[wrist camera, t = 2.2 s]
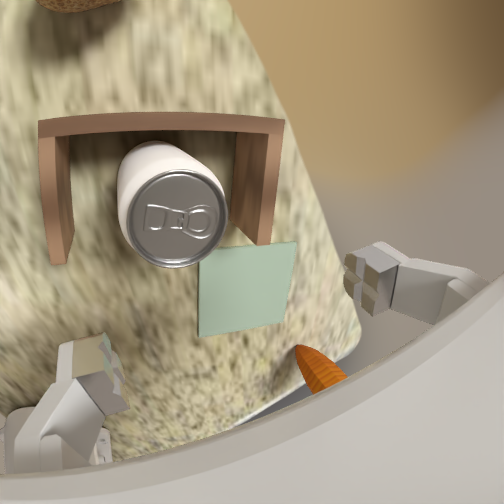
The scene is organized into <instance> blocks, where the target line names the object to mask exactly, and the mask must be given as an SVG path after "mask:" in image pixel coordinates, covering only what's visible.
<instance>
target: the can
mask: <svg viewBox="0 0 504 504" xmlns="http://www.w3.org/2000/svg"><path fill="white" fill-rule="evenodd" d="M117 202H118V217H119V223H120V227H121V230H122V233H123V235H124V237H125V239H126V240H127V242H128V243H129V245H130V246H131V247H132V248H133V249H134V250H135V251H136V252H137V253H138V254H139V255H140V256H141V257H142V258H144V259H145V260H146V261H148V262H150V263H151V264H154V265H156V266H159V267H163V268H183V267H187V266H191V265H193V264H196V263H198V262H200V261H201V260H203V259H204V258H206V257H207V256H208V255H209V254H211V253H212V252H213V251H214V250H215V248H216V247H217V246H218V244H219V243H220V241H221V240H222V238H223V236H224V233H225V230H226V227H227V222H228V208H227V203H226V200H225V195H224V192H223V189H222V186H221V184H220V182H219V181H218V179H217V178H216V176H215V175H214V174H213V173H212V172H211V171H210V170H209V169H208V168H207V167H206V166H204V165H203V164H202V163H200V162H199V161H197V160H196V159H194V158H193V157H191V156H190V155H188V154H187V153H185V152H183V151H182V150H180V149H179V148H177V147H175V146H174V145H172V144H169V143H167V142H163V141H149V142H145V143H142V144H140V145H138V146H136V147H134V148H133V149H132V150H131V151H129V152H128V154H127V155H126V156H125V157H124V159H123V161H122V162H121V165H120V167H119V171H118V177H117Z"/></svg>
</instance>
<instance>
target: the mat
mask: <svg viewBox="0 0 504 504" xmlns="http://www.w3.org/2000/svg"><path fill="white" fill-rule="evenodd" d="M296 246H297V242H295V241H293V242H281V243H270V245H263V246H256V245H247V246H235V247H224V248H215V250H214V251H213V252H212V253H211V254H209V255H208V256H207V257H206V258H204V259H203V260H201V261H200V262H199V285H198V336H199V338H200V337H206V336H212V335H218V334H224V333H229V332H235V331H240V330H246V329H251V328H256V327H261V326H266V325H271V324H276V323H280V322H283V320H284V315H285V309H286V304H287V298H288V293H289V287H290V281H291V276H292V270H293V264H294V258H295V252H296Z"/></svg>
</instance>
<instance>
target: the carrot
mask: <svg viewBox="0 0 504 504" xmlns="http://www.w3.org/2000/svg"><path fill="white" fill-rule="evenodd" d="M295 352H296V359H297V364H298V366H299V368H300V371H301V373H302V375H303V377H304V379H305V382H306V384H307V386H308V387H309V388H310V390H311V392H312V393H313V395H314V394H316V393H318V392H320V391H322V390H324V389H326V388H328V387H330V386H332V385H334V384H336V383H338V382H340V381H342V380H344V379H346V378H348V377H347V376H346V375H345V374H344V373H343V372H342V370H341V369H340V368H338V366H337V365H335V363H334V362H333V361H331V360H330V359H329V358H327V357H326V356H325V355H323V354H322V353H320V352H319V351H317V350H315V349H313V348H311V347H308V346H304V345H297V346H296V348H295Z"/></svg>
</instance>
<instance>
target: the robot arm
mask: <svg viewBox="0 0 504 504" xmlns="http://www.w3.org/2000/svg"><path fill="white" fill-rule="evenodd" d="M344 265H345V266H346V268H347V270H346V272H345V274H344V279H343V284H344V287H345V290H346V292H347V293H348V295H349V296H350V297H351V298H352V299H353V300H357V301H360V302H361V307H362V308H364V309H365V310H366V311H367V312H368V313H369V314H370V315H371V316H372V317H373V316H375V315H377V314H379V313H381V312H384V311H386V310H388V309H390V308H391V310H394V311H397V312H400V313H402V314H405V315H408V316H410V317H413V318H416V319H418V320H421V321H424V322H426V323H429V324H432V325H434V326H432V327H431V328H429V329H428V330H426V331H425V332H423V333H422V334H421V335H419V336H417V337H416V338H415V339H413V340H411V341H410V342H408V343H406V344H405V345H403V346H402V347H400V348H398V349H397V350H396V351H394V352H392V353H390V354H389V355H387V356H385V357H384V358H382V359H380V360H378V361H377V362H375V363H373V364H372V365H370V366H368V367H366V368H364V369H363V370H361V371H359V372H357V373H355V374H353V375H352V376H350V377H348V378H346V379H344V380H342V381H340V382H338V383H336V384H334V385H332V386H330V387H328V388H326V389H324V390H322V391H320V392H318V393H316V394H314V395H312V396H310V397H308V398H305V399H303V400H301V401H299V402H297V403H294V404H292V405H290V406H288V407H285V408H283V409H281V410H278V411H276V412H274V413H271V414H269V415H267V416H264V417H261V418H259V419H256V420H254V421H251V422H249V423H246V424H243V425H241V426H238V427H235V428H233V429H230V430H227V431H224V432H221V433H218V434H215V435H212V436H209V437H206V438H203V439H200V440H197V441H194V442H190V443H187V444H184V445H180V446H177V447H173V448H170V449H166V450H162V451H159V452H155V453H151V454H147V455H142V456H138V457H134V458H129V459H125V460H120V461H115V462H113V459H112V450H111V441H110V432H109V430H107V429H105V428H102V425H103V423H104V420H105V418H106V417H105V416H106V415H110V414H114V413H118V412H121V411H125V410H128V409H130V405H129V399H128V393H127V391H126V389H125V387H124V386H123V385H124V383H125V381H126V380H125V373H124V370H123V367H122V364H121V361H120V359H119V357H118V355H117V353H116V352H114V351H113V350H111V342H110V340H109V338H108V336H107V335H106V334H105V333H104V332H103V333H99V334H95V335H92V336H88V337H84V338H80V339H76V340H72V341H69V342H65V343H61V344H60V346H59V351H58V361H57V372H56V383H53V384H51V385H50V387H49V388H48V390H47V391H46V393H45V394H44V396H43V397H42V398H41V400H40V401H39V403H38V404H37V406H36V407H25V408H20V409H17V410H15V411H13V412H11V413H10V414H9V415H8V417H7V419H6V423H5V426H4V427H3V428H1V429H0V440H1V441H2V442H3V443H4V467H5V474H0V504H504V272H503V273H502V274H501V275H499V276H498V277H497V278H496V279H495V280H493V281H492V282H491V283H489V282H488V281H486V280H485V279H483V278H482V277H480V276H479V275H477V274H476V273H474V272H473V271H471V270H469V269H466V268H462V267H457V266H452V265H447V264H442V263H436V262H431V261H426V260H421V259H416V258H413V259H410V258H408V257H407V256H405V255H404V254H402V253H400V252H399V251H397V250H396V249H394V248H392V247H391V246H389V245H387V244H386V243H384V242H381V241H378V242H376V243H373V244H371V245H369V246H367V247H364V248H362V249H359V250H356V251H353V252H351V253H348V254H346V257H345V263H344Z"/></svg>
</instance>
